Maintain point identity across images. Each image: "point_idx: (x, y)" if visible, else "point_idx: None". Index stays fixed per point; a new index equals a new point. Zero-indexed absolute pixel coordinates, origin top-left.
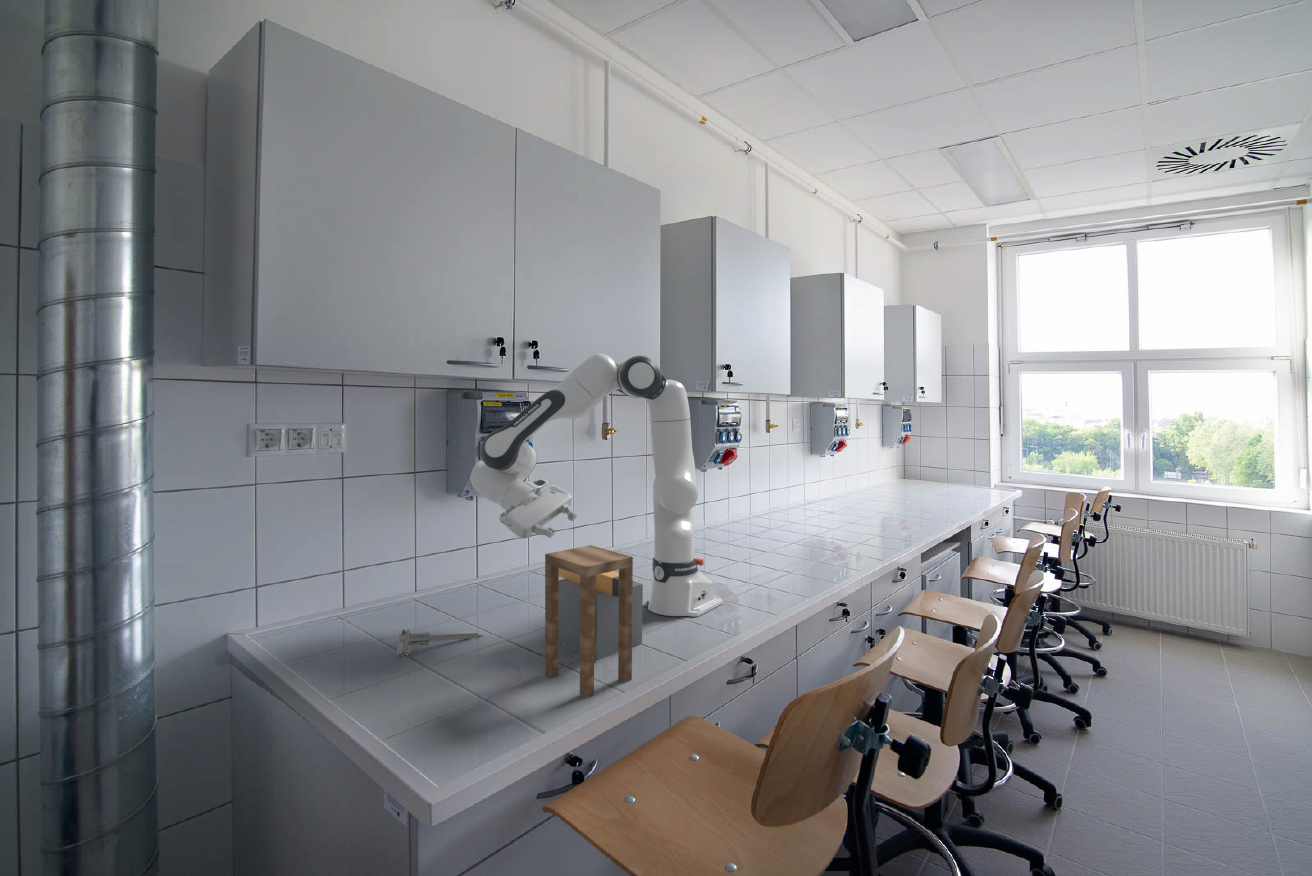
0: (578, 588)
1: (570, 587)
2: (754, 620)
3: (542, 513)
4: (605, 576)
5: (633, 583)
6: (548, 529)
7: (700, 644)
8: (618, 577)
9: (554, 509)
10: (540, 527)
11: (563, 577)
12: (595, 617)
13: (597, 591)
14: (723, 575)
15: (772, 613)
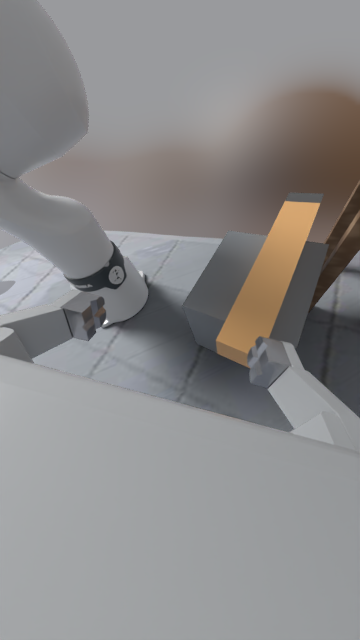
0: (311, 284)
1: (310, 301)
2: (142, 241)
3: (243, 469)
4: (314, 216)
5: (231, 239)
6: (289, 360)
7: (207, 251)
8: (310, 199)
9: (87, 380)
10: (340, 407)
11: None
12: (324, 264)
13: (303, 254)
14: (24, 295)
15: (125, 238)
